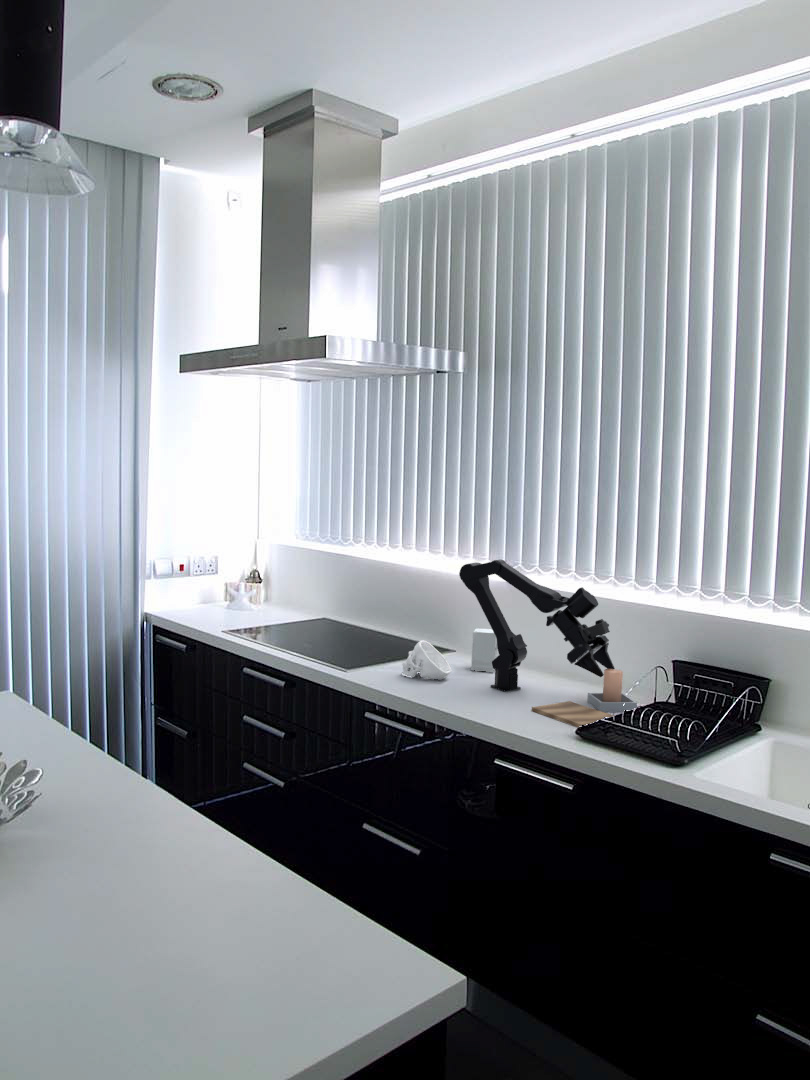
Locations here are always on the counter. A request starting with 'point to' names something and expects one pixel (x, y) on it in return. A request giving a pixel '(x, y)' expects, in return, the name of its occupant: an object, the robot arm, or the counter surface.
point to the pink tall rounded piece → (612, 685)
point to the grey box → (611, 703)
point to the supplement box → (483, 650)
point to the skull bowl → (426, 662)
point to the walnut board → (571, 713)
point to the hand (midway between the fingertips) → (608, 673)
